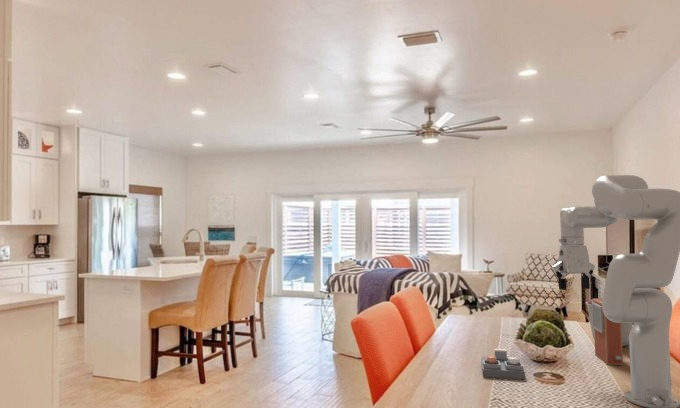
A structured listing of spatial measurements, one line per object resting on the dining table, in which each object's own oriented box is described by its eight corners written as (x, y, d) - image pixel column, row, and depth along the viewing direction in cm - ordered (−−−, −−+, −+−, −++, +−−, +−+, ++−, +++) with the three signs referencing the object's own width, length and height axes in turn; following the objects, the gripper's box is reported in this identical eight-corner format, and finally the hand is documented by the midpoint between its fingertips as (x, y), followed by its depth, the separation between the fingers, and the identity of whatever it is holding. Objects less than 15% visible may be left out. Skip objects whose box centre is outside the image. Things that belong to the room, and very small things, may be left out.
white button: (519, 364, 154) (518, 360, 154) (508, 364, 155) (508, 359, 155) (518, 361, 157) (518, 357, 157) (508, 361, 158) (507, 356, 158)
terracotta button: (496, 363, 156) (496, 358, 156) (486, 362, 157) (486, 358, 157) (496, 360, 159) (496, 356, 159) (486, 360, 160) (486, 355, 160)
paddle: (507, 359, 165) (506, 350, 165) (494, 359, 166) (494, 350, 166) (506, 358, 167) (506, 349, 167) (494, 357, 168) (494, 348, 168)
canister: (628, 339, 201) (626, 290, 202) (644, 350, 184) (642, 296, 185) (582, 337, 206) (580, 289, 207) (593, 348, 188) (591, 295, 189)
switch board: (524, 379, 151) (524, 367, 152) (483, 376, 155) (482, 365, 155) (519, 366, 166) (519, 355, 166) (481, 363, 169) (481, 353, 169)
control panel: (611, 354, 178) (626, 366, 164) (591, 354, 180) (605, 365, 165) (608, 298, 179) (624, 304, 165) (589, 297, 181) (602, 304, 166)
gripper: (558, 242, 165) (560, 291, 164) (600, 241, 169) (602, 289, 168) (545, 242, 172) (546, 288, 172) (585, 241, 176) (587, 286, 175)
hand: (574, 288), depth 170 cm, fingers open, 9 cm apart
